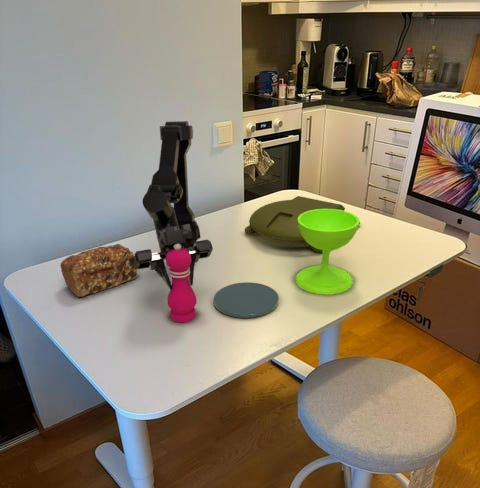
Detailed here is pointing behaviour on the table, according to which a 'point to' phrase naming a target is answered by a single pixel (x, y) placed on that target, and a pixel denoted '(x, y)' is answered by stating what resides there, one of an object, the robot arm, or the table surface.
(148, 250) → the robot arm
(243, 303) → the plate
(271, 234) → the spaceship
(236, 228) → the table surface
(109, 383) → the table surface
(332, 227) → the wineglass
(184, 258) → the pepper mill
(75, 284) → the bread
